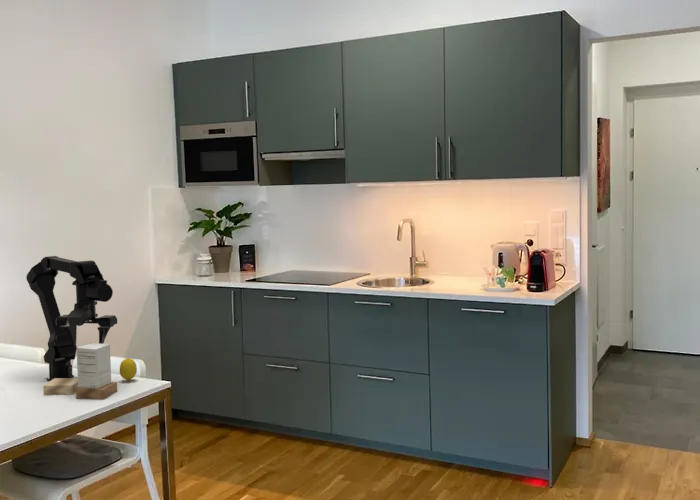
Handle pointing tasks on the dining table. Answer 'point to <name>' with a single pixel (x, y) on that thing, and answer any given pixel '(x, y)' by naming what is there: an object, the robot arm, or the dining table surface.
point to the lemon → (128, 369)
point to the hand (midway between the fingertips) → (87, 346)
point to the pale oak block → (61, 386)
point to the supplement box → (93, 365)
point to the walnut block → (97, 392)
